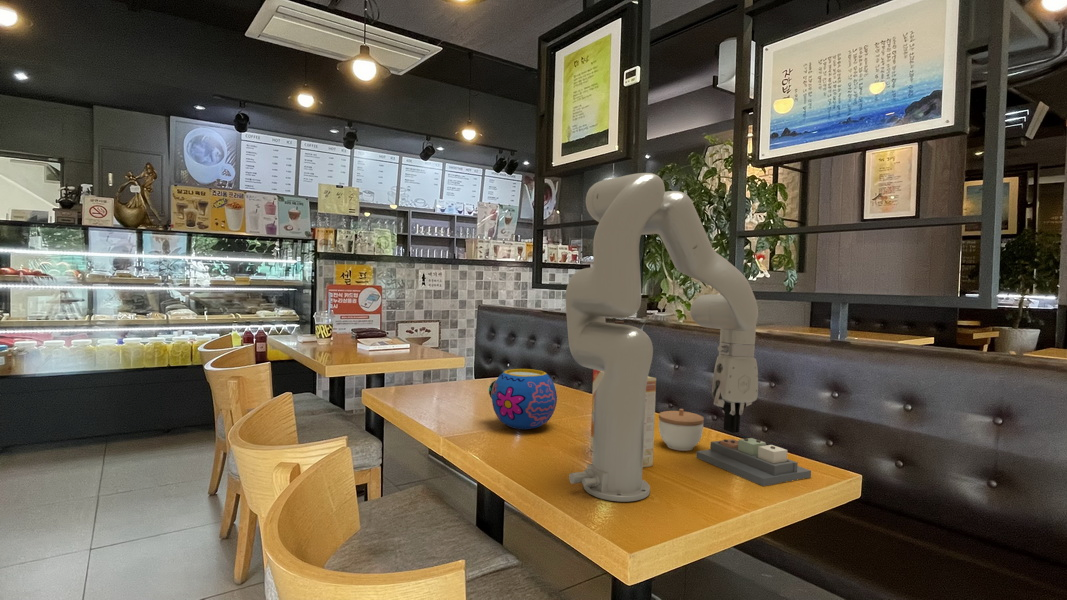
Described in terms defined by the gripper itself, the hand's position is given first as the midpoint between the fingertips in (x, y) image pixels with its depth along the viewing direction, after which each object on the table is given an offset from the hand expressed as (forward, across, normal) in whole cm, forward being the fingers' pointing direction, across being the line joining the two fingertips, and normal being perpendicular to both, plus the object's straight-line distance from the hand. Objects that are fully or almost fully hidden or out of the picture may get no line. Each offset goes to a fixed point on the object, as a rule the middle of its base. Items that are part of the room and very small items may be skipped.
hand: (731, 431), depth 126 cm
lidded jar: (+7, -4, +12) cm, 15 cm away
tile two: (+3, +1, -5) cm, 6 cm away
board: (+7, +1, -5) cm, 9 cm away
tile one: (+3, +1, -11) cm, 11 cm away
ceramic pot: (+8, -33, +41) cm, 53 cm away
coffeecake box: (+8, -23, +10) cm, 26 cm away
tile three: (+5, +1, 0) cm, 5 cm away
